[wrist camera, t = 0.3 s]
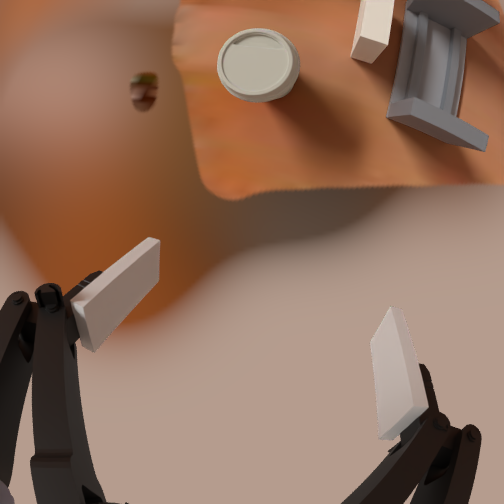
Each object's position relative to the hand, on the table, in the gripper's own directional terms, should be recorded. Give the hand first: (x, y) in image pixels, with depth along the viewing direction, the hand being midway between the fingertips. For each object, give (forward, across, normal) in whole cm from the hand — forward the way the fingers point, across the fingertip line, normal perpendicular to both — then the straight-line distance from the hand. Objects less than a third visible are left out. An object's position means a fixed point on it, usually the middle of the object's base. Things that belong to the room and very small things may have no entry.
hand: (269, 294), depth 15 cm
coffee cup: (+28, -7, +14) cm, 32 cm away
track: (+27, +14, +23) cm, 38 cm away
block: (+27, +4, +25) cm, 37 cm away
